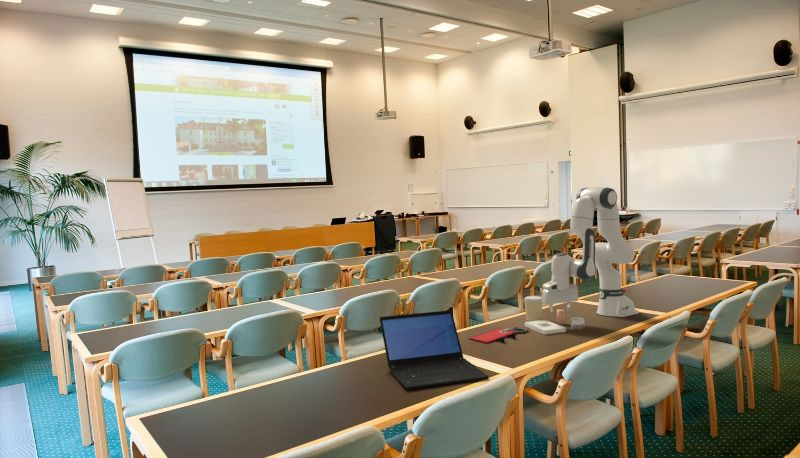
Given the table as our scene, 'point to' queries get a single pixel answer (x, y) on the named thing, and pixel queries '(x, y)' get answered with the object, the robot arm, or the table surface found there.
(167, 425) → the table surface
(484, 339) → the red board with handle
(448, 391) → the table surface
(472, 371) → the laptop
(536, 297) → the coffee cup
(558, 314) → the terracotta peg
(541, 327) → the white flat block
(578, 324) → the clear glass block
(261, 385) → the table surface
